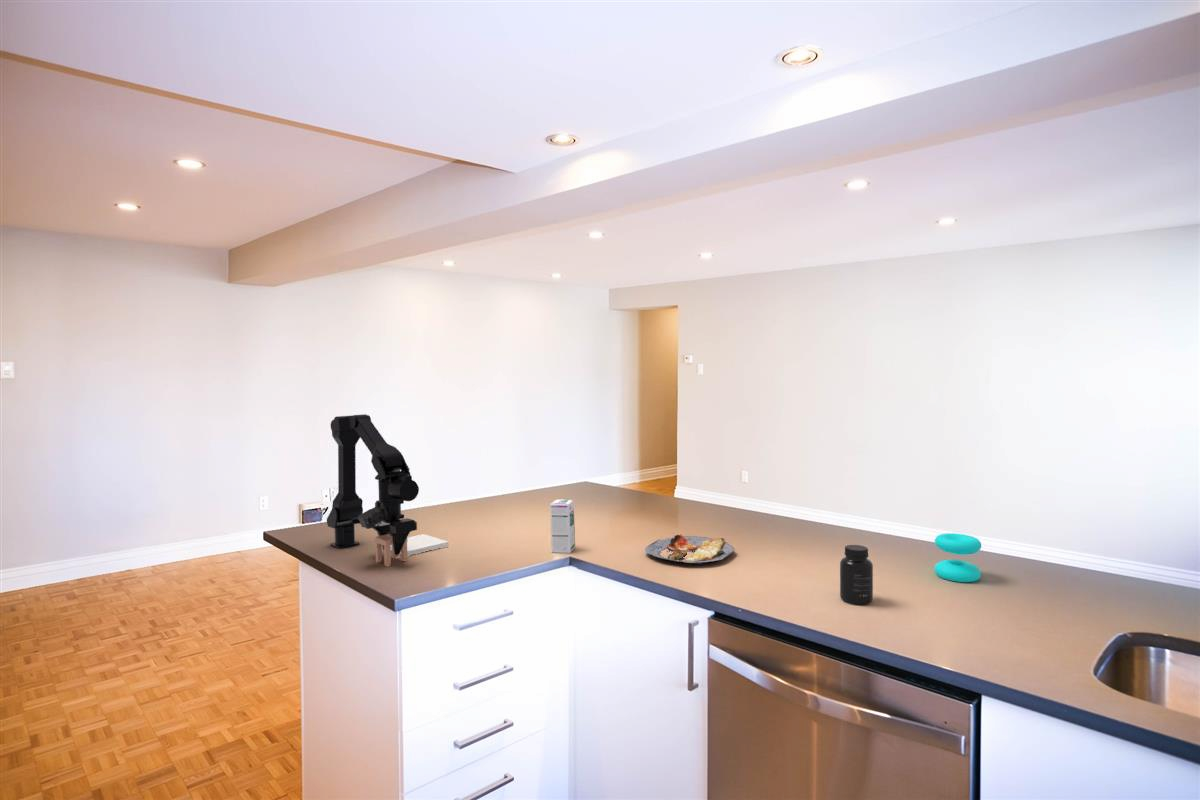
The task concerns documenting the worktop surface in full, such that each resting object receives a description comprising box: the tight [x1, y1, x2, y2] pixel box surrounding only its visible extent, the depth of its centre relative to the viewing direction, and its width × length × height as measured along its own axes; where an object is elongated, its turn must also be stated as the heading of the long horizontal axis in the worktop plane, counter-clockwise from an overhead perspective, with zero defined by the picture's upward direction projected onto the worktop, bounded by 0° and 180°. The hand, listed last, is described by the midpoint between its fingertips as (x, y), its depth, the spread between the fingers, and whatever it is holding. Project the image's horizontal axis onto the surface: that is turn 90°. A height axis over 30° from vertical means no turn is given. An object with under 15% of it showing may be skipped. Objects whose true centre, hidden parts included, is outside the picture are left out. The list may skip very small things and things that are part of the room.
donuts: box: [934, 532, 982, 583], centre depth 157 cm, size 10×10×10 cm
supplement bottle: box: [839, 544, 874, 606], centre depth 142 cm, size 7×7×12 cm
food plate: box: [644, 534, 736, 565], centre depth 180 cm, size 25×23×4 cm
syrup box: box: [549, 498, 576, 554], centre depth 186 cm, size 6×6×14 cm
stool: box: [374, 534, 408, 567], centre depth 177 cm, size 6×6×7 cm
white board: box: [390, 533, 450, 557], centre depth 191 cm, size 14×14×2 cm
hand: (391, 552), depth 177 cm, fingers closed on stool, 6 cm apart
